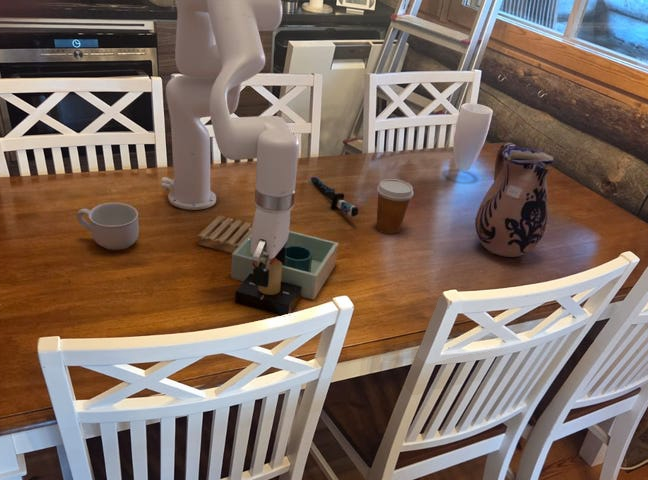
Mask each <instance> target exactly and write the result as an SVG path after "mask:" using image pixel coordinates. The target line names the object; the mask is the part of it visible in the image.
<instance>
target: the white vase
mask: <svg viewBox="0 0 648 480" xmlns="http://www.w3.org/2000/svg"><path fill="white" fill-rule="evenodd" d="M493 113H494V111H493V109H492V108H491V107H489V106H486V105H485V104H481V103H474V102H473V103H472V102H465V103H463V104H461V105H460V109H459V112H458V115H457V119H456V123H455V129H454V133H453V143H452V144H453V147H452V155H453V157H452V158H453V165H454V168H455V169H457V170H460V171H463V172H464V171H465V172H466V171H469V170H470V169H471V167H473V165H474V164H475V162H476V161H477V159H478V157H479V155H480V153H481V151H482V149H483V147H484V144H485V143H486V139H487V135H488V132H489V130H490V126H491V121H492V117H493Z"/></svg>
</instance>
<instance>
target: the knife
mask: <svg viewBox="0 0 648 480" xmlns="http://www.w3.org/2000/svg"><path fill="white" fill-rule="evenodd" d="M310 181H311V183H312V184H313V186H315V188H316V189H317V190H318V191H319V192H320V193H321V194H322V195H323V196H325V197H326V198H327V199H328V200H329V201H331V204H330V208H331V209H332V210H334V209H339V210H341V212H343V213H345V214H346V215H347V216H349V217H350V218H354V217H356V216H358V214H359V208H358V207H357V206H356V205H354V204H351V203H349V202H347V201H346V200H344V198H345V194H344V193H343V192H338V193H336V188H330V187H329V186H327V185H326V184H325V183H324V182H323V181H322V180H321V179H320V178H318V177H316V176H312V177H310Z"/></svg>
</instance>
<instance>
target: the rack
mask: <svg viewBox="0 0 648 480" xmlns="http://www.w3.org/2000/svg"><path fill="white" fill-rule="evenodd" d="M252 229H253V226H252V223H251V222H247V221H245V223H244V224H243V220H239V219H236V220H235V222H234V218H232V217H227V218H226V219H225V216H224V215H218V216H217V217H215V219H213V221H211V223H209V225H208V226H206V227H205V228H204V229H203V230H202V231H200V233H199V234H198V235H197V245H199V246H202V247H207V248H210V249H215V250H217V251H222V252H225V253H230V254H232V253H233V252H234V251H235V250H236V249H237V248H238V247H239V246H240V245H241V244H242V243H243V242H244V240H245V239H246V238H247V237H248V236H249V235H250V234H251V233H252ZM240 238H241V239H240Z"/></svg>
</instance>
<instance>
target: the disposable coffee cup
mask: <svg viewBox="0 0 648 480" xmlns="http://www.w3.org/2000/svg"><path fill="white" fill-rule="evenodd" d="M376 191H377V205H376V206H377V209H376V210H377V211H376V229H377V230H378V231H380V232H382V233H385V234H397V233H399V232H400V230H401V227H402V225H403V222H404V219H405V216H406V213H407V210H408V208H409V205H410V201H411V199H412V198H413V196H414V194H415V192H414V190H413V185H411V184H410V183H408V182H406V181H404V180H401V179H396V178H387V179H382V180H381V181H380V182H379V183H378V185H377V187H376Z"/></svg>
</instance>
